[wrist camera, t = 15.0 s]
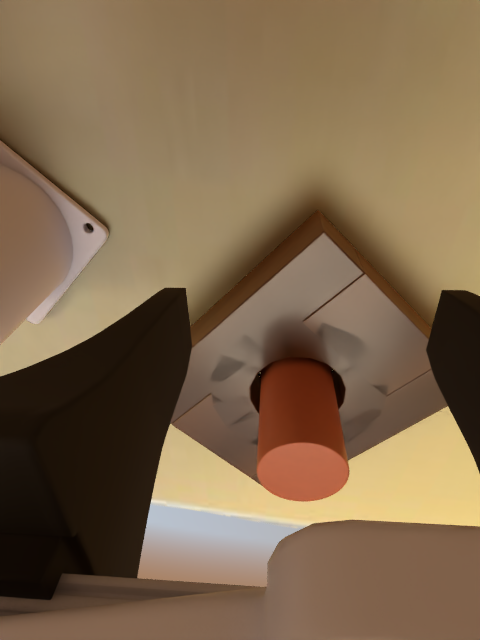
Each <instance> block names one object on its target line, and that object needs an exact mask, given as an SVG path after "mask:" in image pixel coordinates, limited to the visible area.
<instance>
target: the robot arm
mask: <svg viewBox="0 0 480 640" xmlns="http://www.w3.org/2000/svg"><path fill="white" fill-rule="evenodd" d="M86 223H89V224H91V225H92V226H93V229H94V230H93V231H91V230H89V229H88V228H87V226H86ZM108 237H109V232H108V229H107V228H106V227H105V226H104V225H103V224H102V223H100V222H99V221H98V220H97V219H96V218H94V217H93V216H92V215H91V214H90V213H88V212H87V211H86V210H85V209H83V208H82V207H81V206H80V205H79V204H77V203H76V202H75V201H74V200H72V199H71V198H70V197H69V196H68V195H66V194H65V193H64V192H63V191H61V190H60V189H59V188H58V187H57V186H55V185H54V184H53V183H52V182H50V181H49V180H48V179H47V178H46V177H44V176H43V175H42V174H41V173H40V172H38V171H37V170H36V169H35V168H33V167H32V166H31V165H30V164H29V163H27V162H26V161H25V160H24V159H22V158H21V157H20V156H19V155H18V154H16V153H15V152H14V151H13V150H11V149H10V148H9V147H8V146H7V145H5V144H4V143H3V142H2V141H0V345H1V344H2V343H3V342H4V341H5V340H6V339H7V338H8V337H9V336H10V335H11V334H12V333H13V332H14V331H15V330H16V329H17V328H18V327H19V325H20V324H21V323H22V322H23V321H24V320H25V319H26V320H27V321H29V322H30V323H32V324H39V323H40V322H41V321H42V320H43V319H44V318H45V317H46V315H47V314H48V313H49V312H50V310H51V309H52V308H53V307H54V305H55V304H56V303H57V302H58V300H59V299H60V298H61V297H62V295H63V294H64V293H65V292H66V290H67V289H68V288H69V287H70V285H71V284H72V283H73V282H74V280H75V279H76V278H77V277H78V275H79V274H80V273H81V272H82V270H83V269H84V268H85V267H86V265H87V264H88V263H89V262H90V260H91V259H92V258H93V257H94V255H95V254H96V253H97V252H98V250H99V249H100V248H101V247H102V245H103V244H104V243H105V242H106V240H107V239H108ZM191 349H192V339H191V331H190V322H189V313H188V305H187V296H186V288H164V289H162V290H161V291H159V292H158V293H156V294H155V295H153V296H152V297H151V298H149V299H148V300H147V301H145V302H144V303H143V304H141V305H140V306H138V307H137V308H136V309H134V310H133V311H131V312H130V313H129V314H127V315H126V316H124V317H123V318H121V319H120V320H118V321H117V322H115V323H114V324H112V325H111V326H109V327H107V328H106V329H104V330H103V331H101V332H100V333H98V334H96V335H95V336H93V337H91V338H89V339H88V340H86V341H84V342H82V343H80V344H78V345H76V346H74V347H72V348H70V349H68V350H66V351H64V352H62V353H60V354H58V355H55V356H53V357H50V358H48V359H46V360H43V361H41V362H39V363H36V364H34V365H32V366H29V367H27V368H24V369H21V370H18V371H16V372H13V373H10V374H7V375H4V376H1V377H0V640H480V527H477V526H459V525H440V524H421V523H403V522H384V521H365V520H345V521H335V522H324V523H314V524H311V525H309V526H307V527H305V528H303V529H301V530H299V531H297V532H295V533H293V534H291V535H289V536H287V537H285V538H284V539H282V540H281V541H280V542H279V543H278V545H277V546H276V548H275V550H274V552H273V554H272V556H271V558H270V559H269V561H268V572H267V575H268V576H267V587H255V586H241V585H225V584H211V583H196V582H182V581H166V580H152V579H138V578H137V574H138V569H139V563H140V557H141V551H142V545H143V540H144V534H145V528H146V524H147V518H148V513H149V508H150V503H151V498H152V493H153V488H154V483H155V478H156V474H157V469H158V465H159V460H160V456H161V451H162V447H163V444H164V440H165V437H166V433H167V431H168V428H169V425H170V422H171V419H172V416H173V413H174V410H175V407H176V404H177V402H178V399H179V396H180V393H181V390H182V387H183V384H184V381H185V378H186V375H187V371H188V366H189V361H190V355H191ZM426 352H427V355H428V359H429V362H430V366H431V369H432V372H433V375H434V378H435V380H436V382H437V384H438V387H439V389H440V391H441V393H442V395H443V397H444V399H445V401H446V403H447V405H448V407H449V409H450V411H451V413H452V415H453V416H454V418H455V420H456V422H457V424H458V426H459V428H460V430H461V432H462V434H463V436H464V438H465V440H466V442H467V444H468V446H469V448H470V451H471V453H472V455H473V457H474V459H475V462H476V464H477V467H478V470H479V473H480V296H478V295H476V294H473V293H471V292H468V291H465V290H442V292H441V296H440V300H439V303H438V307H437V311H436V314H435V318H434V322H433V326H432V329H431V333H430V337H429V341H428V344H427V348H426Z"/></svg>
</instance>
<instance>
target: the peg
mask: <svg viewBox="0 0 480 640" xmlns="http://www.w3.org/2000/svg"><path fill="white" fill-rule="evenodd" d="M257 476H258V479H259V481H260V483H261V484H262V485H263V487H264V488H266V489H267V490H268V491H269V492H271V493H272V494H274V495H276V496H278V497H281V498H284V499H288V500H293V501H314V500H319V499H323V498H326V497H329V496H331V495H333V494H335V493H336V492H338V491H339V490H340V489H341V488H342V487H343V486H344V485H345V484H346V482H347V480H348V477H349V465H348V460H347V454H346V449H345V443H344V438H343V432H342V427H341V421H340V416H339V410H338V405H337V399H336V393H335V388H334V382H333V377H332V371H331V367H330V366H329V365H328V364H326V363H323V362H320V361H317V360H314V359H312V358H305V357H288V358H284V359H281V360H278V361H275V362H271V363H270V364H269V365H267V366H266V367H265V368H263V369H262V370H261V389H260V410H259V431H258V451H257Z"/></svg>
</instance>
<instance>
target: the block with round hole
mask: <svg viewBox="0 0 480 640" xmlns="http://www.w3.org/2000/svg"><path fill="white" fill-rule="evenodd" d="M431 329H432V328H431V327H429V325H428V324H427V323H426V322H425V321H424V320H423V319H422V318H421V317H420V316H419V315H418V314H417V313H416V312H415V311H414V309H413V308H412V307H411V306H410V305H409V304H408V303H407V302H406V301H405V300H404V299H403V298H402V297H401V296H400V295H399V294H398V293H397V292H396V291H395V290H394V289H393V287H392V286H391V285H390V284H389V283H388V282H387V281H386V280H385V279H384V278H383V277H382V276H381V275H380V274H379V273H378V272H377V271H376V270H375V269H374V268H373V266H372V265H371V264H370V263H369V262H368V261H367V260H366V259H365V258H364V257H363V256H362V255H361V254H360V253H359V252H358V251H357V250H356V249H355V248H354V247H353V246H352V245H351V244H350V242H349V241H348V240H347V239H346V238H345V237H344V236H343V235H342V234H341V233H340V232H339V231H338V230H337V229H336V228H335V227H334V226H333V225H332V224H331V223H330V221H329V220H328V219H327V218H326V217H325V216H324V215H323V214H322V213H321V212H320V211H319V210H317V211H316V212H315V213H314V214H313V215H312V216H310V217H309V218H308V219H307V220H306V221H305V222H304V223H303V224H302V225H301V226H300V227H299V228H297V229H296V230H295V231H294V232H293V233H292V234H291V235H290V236H289V237H288V238H287V239H285V240H284V241H283V242H282V243H281V244H280V245H279V246H278V247H277V248H276V249H275V250H274V251H272V252H271V253H270V254H269V255H268V256H267V257H266V258H265V259H264V260H263V261H262V262H260V263H259V264H258V265H257V266H256V267H255V268H254V269H253V270H252V271H251V272H250V273H249V274H247V275H246V276H245V277H244V278H243V279H242V280H241V281H240V282H239V283H238V284H237V285H236V286H234V287H233V288H232V289H231V290H230V291H229V292H228V293H227V294H226V295H225V296H224V297H222V298H221V299H220V300H219V301H218V302H217V303H216V304H215V305H214V306H213V307H212V308H211V309H209V310H208V311H207V312H206V313H205V314H204V315H203V316H202V317H201V318H200V319H199V320H197V321H196V322H195V323H194V324H193V325H192V326H191V327H190V331H191V339H192V349H191V355H190V361H189V366H188V371H187V375H186V378H185V381H184V384H183V387H182V390H181V393H180V396H179V399H178V402H177V404H176V407H175V410H174V413H173V416H172V419H171V422H170V424H172V425H173V426H175V427H176V428H178V429H179V430H181V431H182V432H184V433H185V434H187V435H188V436H190V437H191V438H192V439H194V440H195V441H197V442H198V443H200V444H201V445H203V446H204V447H206V448H207V449H209V450H210V451H212V452H213V453H215V454H216V455H218V456H219V457H221V458H222V459H224V460H225V461H227V462H228V463H230V464H231V465H233V466H234V467H236V468H237V469H239V470H240V471H241V472H243V473H244V474H246V475H247V476H249V477H251V478H252V479H253V480H255V481H256V482H258V483H259V484H261V483H260V481H259V479H258V476H257V451H258V431H259V410H260V389H261V379H260V378H259V376H258V374H257V373H258V372H259V371H261V370H262V369H263V368H265V367H266V366H267V365H269V364H270V363H271V362H275V361H278V360H281V359H284V358H288V357H305V358H312V359H314V360H317V361H320V362H323V363H326V364H328V365H329V366H330V367H331V368H332V369H333V370H335V371H334V373H333V374H332V377H333V382H334V388H335V393H336V399H337V405H338V410H339V416H340V421H341V427H342V432H343V438H344V443H345V449H346V454H347V460H350V459H352V458H353V457H355V456H357V455H359V454H361V453H363V452H364V451H366V450H368V449H370V448H372V447H374V446H375V445H377V444H379V443H381V442H383V441H385V440H386V439H388V438H390V437H392V436H394V435H396V434H397V433H399V432H401V431H403V430H405V429H407V428H408V427H410V426H412V425H414V424H416V423H418V422H419V421H421V420H423V419H425V418H427V417H428V416H430V415H432V414H434V413H436V412H438V411H439V410H441V409H443V408H445V407H447V406H448V405H447V403H446V401H445V399H444V397H443V395H442V393H441V391H440V389H439V387H438V384H437V382H436V380H435V378H434V375H433V372H432V369H431V366H430V362H429V359H428V355H427V352H426V348H427V344H428V341H429V337H430V333H431ZM261 485H262V484H261ZM262 486H263V485H262Z"/></svg>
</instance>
